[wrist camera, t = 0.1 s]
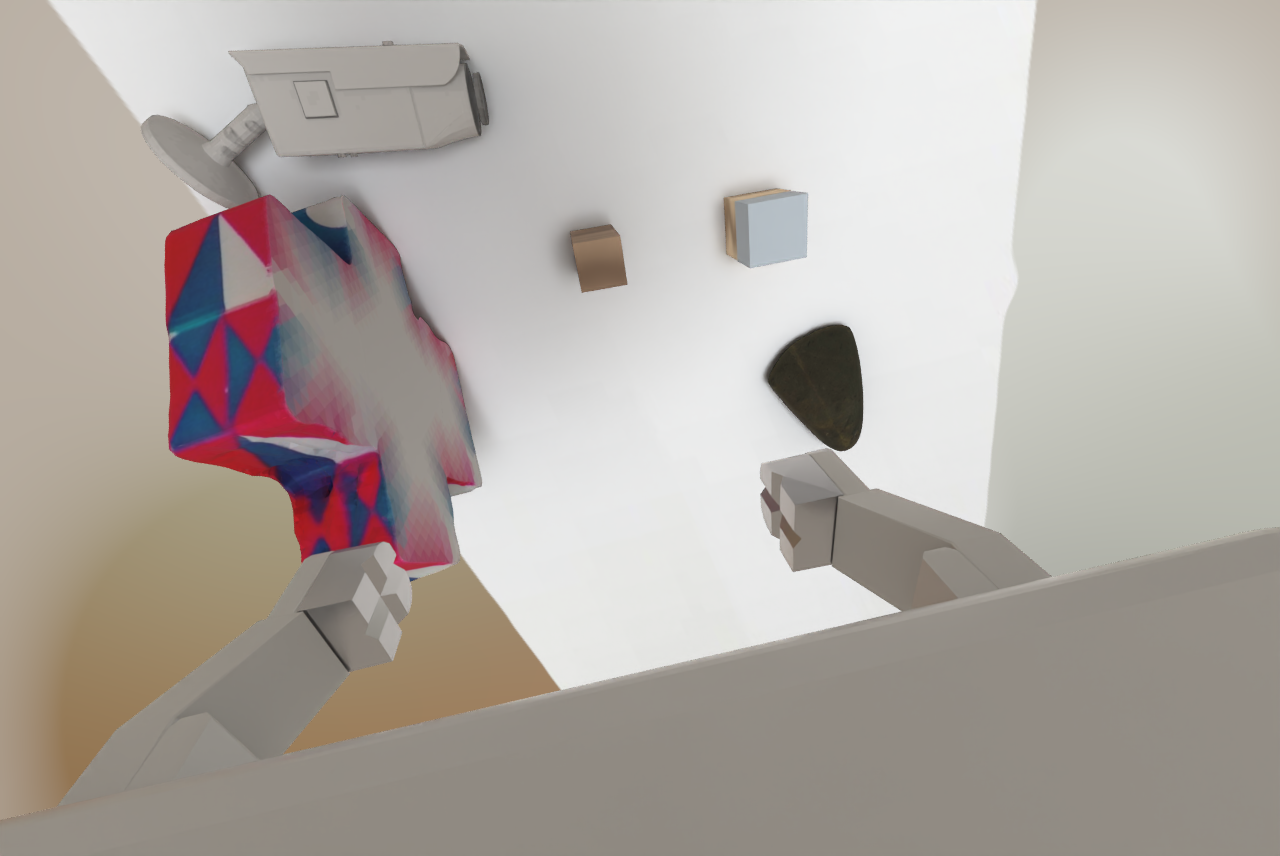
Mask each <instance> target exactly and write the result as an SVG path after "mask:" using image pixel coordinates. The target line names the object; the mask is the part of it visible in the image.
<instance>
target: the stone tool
mask: <svg viewBox="0 0 1280 856" xmlns="http://www.w3.org/2000/svg"><path fill="white" fill-rule="evenodd" d="M769 384H770V386H771V387H772V389H773V390H774V391H775V392H776V394H777V395H778V396H779V397H780V398H781V400H782V401H783V402H784V403H785V405H786V406H787V407H788V408H789V409H790V410H791V411H792V412H793V413H794V414H795V416H796V417H797V418H798V419H799V420H800V421H801V422H802V423H803V424H804V425H805V426H806V427H807V428H808V429H809V430H810V431H811V432H812V433H813V434H814V435H815V436H816V437H817V438H818V439H819V440H821V441H822V442H823V443H824V444H826V445H827V446H829V447H830V448H832V449H834V450H837V451H846V450H848V449H850V448H852V447H853V446H854V445H855V444H856V442H857V441H858V439H859V437H860V434H861V429H862V423H863V387H862V375H861V367H860V360H859V355H858V350H857V346H856V342H855V339H854V336H853V333H852V331H851V329H850V328H849V327H847V326H843V325H835V326H829V327H826V328H823V329H819V330H817V331H815V332H813V333H811V334H810V335H809V336H805V337H803V338H802V339H800V340H798V341H797V342H795V343H794V344H793V345H792V346H790V347H789V348H788V349H787V350H786V351H785V352H784V353H783V355H782V356H781V357H780V359H779V360H778V362H777V363H776V365H775V366H774V368H773V370H772V371H771V374H770V376H769Z"/></svg>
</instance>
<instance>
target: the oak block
mask: <svg viewBox="0 0 1280 856" xmlns="http://www.w3.org/2000/svg"><path fill="white" fill-rule="evenodd" d="M787 191H791V190H784V189H771V190H765V191H759V192H754V193H748V194H742V195H736V196H731V197H725V198H724V210H725V231H726V252H727V255H729V256H731V257H732V258H734V259H736V260H737V239H736V218H735V201H739V200H744V199H750V198H755V197H761V196H766V195H771V194H777V193H782V192H787Z"/></svg>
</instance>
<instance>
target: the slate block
mask: <svg viewBox="0 0 1280 856" xmlns="http://www.w3.org/2000/svg"><path fill="white" fill-rule="evenodd" d="M807 217H808V193H803V192H795V191H787V192H782V193H777V194H771V195H766V196H761V197H755V198H750V199H744V200H739V201H735V218H736V239H737V260H738V262H740V263H742V264H744V265H745V266H747V267H749V268H754V267H759V266H764V265H769V264H774V263H780V262H785V261H790V260H795V259H800V258H805V257H807Z"/></svg>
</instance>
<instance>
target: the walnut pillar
mask: <svg viewBox="0 0 1280 856" xmlns="http://www.w3.org/2000/svg"><path fill="white" fill-rule="evenodd" d="M570 234H571V240H572V246H573V251H574V256H575V261H576V266H577V271H578V276H579V281H580V286H581V291H582V293H583V292H588V291H594V290H600V289H605V288H611V287H617V286H622V285H627V279H626V272H625V265H624V259H623V252H622V245H621V239H620V235H619V234H618V233H617V231H616V230H615V229H614V228H613V226H612V225H605V226H599V227H593V228H587V229H582V230H576V231H570Z"/></svg>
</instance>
